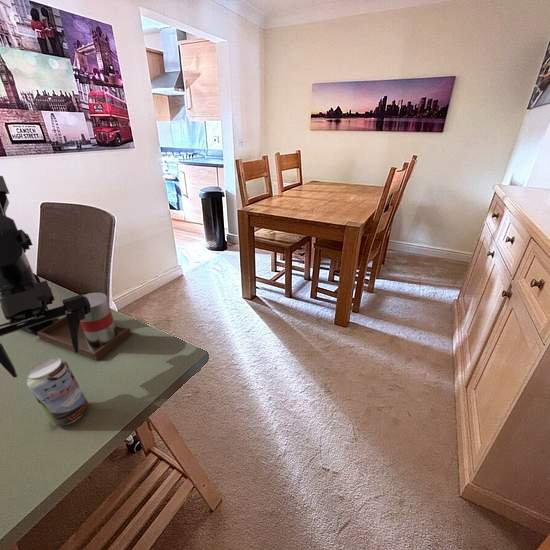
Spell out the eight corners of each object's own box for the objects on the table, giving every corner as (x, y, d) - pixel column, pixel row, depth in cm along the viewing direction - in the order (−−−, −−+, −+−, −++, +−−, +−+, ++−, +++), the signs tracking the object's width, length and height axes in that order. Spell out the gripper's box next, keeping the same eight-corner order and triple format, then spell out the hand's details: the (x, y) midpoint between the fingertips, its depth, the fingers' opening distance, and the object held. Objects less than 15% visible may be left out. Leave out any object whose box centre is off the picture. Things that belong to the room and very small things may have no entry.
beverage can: (72, 433, 53) (50, 385, 48) (37, 425, 54) (11, 377, 49) (97, 404, 59) (80, 357, 53) (65, 397, 60) (45, 351, 54)
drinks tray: (39, 339, 75) (36, 332, 74) (77, 316, 83) (74, 310, 82) (97, 360, 69) (94, 353, 68) (131, 334, 77) (129, 327, 76)
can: (81, 346, 72) (65, 304, 66) (104, 329, 78) (92, 290, 72) (102, 353, 70) (88, 311, 64) (124, 336, 76) (113, 296, 70)
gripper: (-73, 289, 44) (-39, 388, 42) (73, 256, 55) (105, 333, 53) (-45, 310, 53) (-16, 392, 51) (76, 278, 64) (103, 344, 62)
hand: (47, 364), depth 54 cm, fingers open, 9 cm apart
